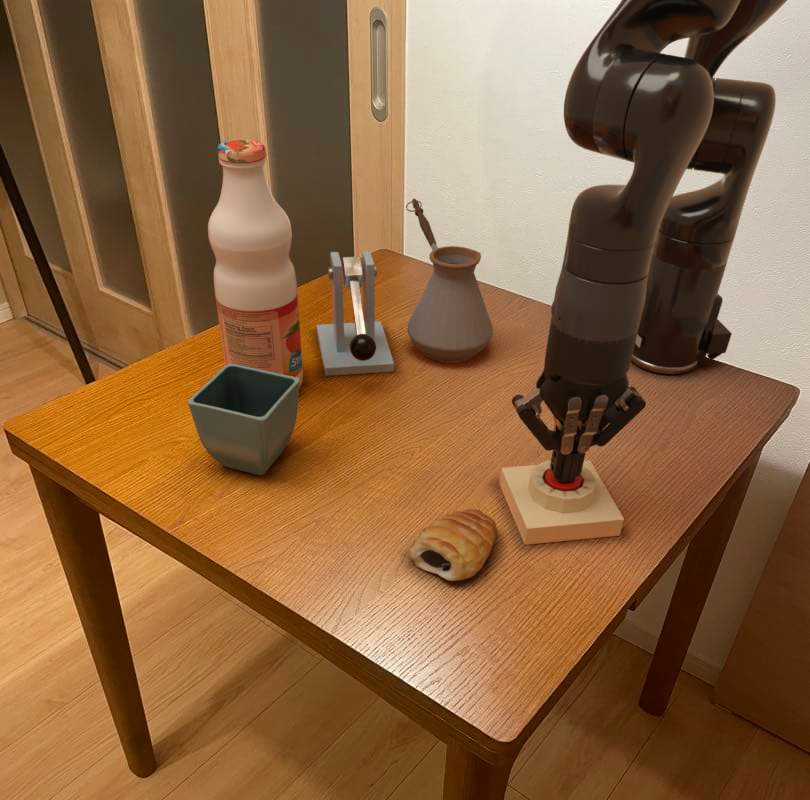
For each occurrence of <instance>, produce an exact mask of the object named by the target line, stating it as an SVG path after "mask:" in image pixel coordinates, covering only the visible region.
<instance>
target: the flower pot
mask: <svg viewBox="0 0 810 800" xmlns="http://www.w3.org/2000/svg"><path fill="white" fill-rule="evenodd" d="M299 383H300V379H299V378H296V377H293V376H288V375H283V374H278V373H274V372H269V371H264V370H260V369H255V368H251V367H245V366H242V365H237V364H227V365H225V364H224V366H222V368H221V369H219V371H217V373H215V374H214V375H213V377H212V378H210V379H209V380H208V381H207V382H206V383H205V384H204V385H203V386H202V387H201V388H199V390H197V392H196V393H194V394H193V395H192V396H191V397H190V398H189V399H188V401H187V404H188V407H189V411H190V414H191V417H192V420H193V424H194V427H195V430H196V432H197V435H198V437H199V440H200V442H201V444H202V446H203V447H204V449H205V450H206V451H207V452H208V454H209V455H210V456H211V457H212V458H213V459H214V460H215V461H216V462H217V463H219V464H220V465H221V466H222V467H225V468H229V469H233V470H237V471H241V472H245V473H249V474H253V475H256V476H263V475H265V474H266V473H267V472H268V471H269V469H270V468H271V466H272V465H273V464H274V463H275V461H277V459H278V458H279V457H280V456H281V454H282V453H283V451H284V450H285V448H286V446H287V445H288V443H289V442H290V439H291V438H292V435H293V433H294V429H295V427H296V424H297V423H296V422H297V418H298V411H299V410H298V409H299V397H300V396H299V395H300V388H299Z"/></svg>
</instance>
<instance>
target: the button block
mask: <svg viewBox="0 0 810 800" xmlns="http://www.w3.org/2000/svg"><path fill="white" fill-rule="evenodd" d="M550 463H551V459H549V460H544V461H542V462H540V463H538V464H531V465H518V466H506V467H501V468H500V475H499V483H498V485H499V487H500V489H501V491H502V492H501V493H502V494H503V497H504V499H505V501H506V503H507V505H508V509H509V511H510V513H511V516H512V518H513V520H514V523H515V525H516V527H517V528H516V529H517V530H518V533H519V535H520V537H521V540H522V543H523V545H524V546H527V545H537V544H538V545H539V544H548V543H558V542H568V541H578V540H589V539H598V538H599V539H600V538H608V537H618V536H619V537H620V536H621V533H622V530H623V525H624V522H625V518H624V516H623V515H622V512H621V511H620V509H619V508H618V505H617V504H616V502H615V500H614V499H613V497H612V495H611V494H610V492H609V489H608V488H607V487H606V485H605V483H604V481H603V480H602V478H601V476H600V474H599V473H598V471H597V469H596V468H595V466H594V464H593V463H592V460H584V463H583V467H582V472H581V474H580V476H581V485H580V488H579V489H577V490H575V491H567V492H564V491H559V490H555V489H553V488H551V487H550V486H548V485H547V484H545V476H546V473H547V471H548V470H549V469H551V468H550Z"/></svg>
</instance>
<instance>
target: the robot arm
mask: <svg viewBox="0 0 810 800" xmlns="http://www.w3.org/2000/svg"><path fill="white" fill-rule="evenodd" d="M786 2H788V0H621V1H620V2H619V4H618V5H617V7H616V8H615V9H614V10H613V12H612V13H611V14H610V16H609V17H608V18H607V20H606V21H605V22H604V24H603V25H602V27H601V28H600V30H599V31H598V32H597V33H596V35H595V36H594V37H593V39H592V40H591V41H590V43H589V44H588V46H587V47H586V49H585V50H584V52H583V53H582V54H581V56H580V58H579V60H578V61H577V64H576V65H575V68H573V71H572V73H571V75H570V77H569V81H568V84H567V87H566V91H565V96H564V101H563V122H564V128H565V131H566V133H567V135H568V138H569V139H570V140H571V141H572V143H574V144H575V145H576V146H577V147H580V148H582V149H584V150H586V151H590V152H593V153H597V154H601V155H605V156H609V157H611V158H615V159H620V160H623V161H626V162H630V163H633V169H632V173H631V175H630V178H629V180H628V181H627V183H626V184H615V183H613V184H611V183H610V184H597V185H593V186H590V187H587V188H586V189H583V190H582V191H581V192H579V194H578V195H577V196H576V198H575V199H574V201H573V205H572V208H571V211H570V217H569V223H568V227H567V235H566V243H565V248H564V253H563V254H564V255H563V261H562V266H561V268H560V269H561V270H560V272H559V276H558V280H557V283H556V286H555V292H554V297H553V301H552V304H551V310H550V311H551V312H550V313H551V317H550V324H549V329H548V330H549V331H548V337H547V343H546V349H545V355H544V364H543V365H544V367H543V371H542V373H541V374H540V376H539V377H538V378H537V380H536V384H535V388H534V389H533V390H532V391H530V392H529V393H528V394H526V395H522V394H515V395H514V396H513V397H512V399H511V403H512V406H513V407H514V409H515V411H516V413H517V416H518V417H519V419H520V420H521V422H522V423H523V424H524V426H525V427H527V429H528V430H529V431H530V433H531V434H532V435H533V436H534V438H535V439H536V440H537V442H538V443H539V444H540V445H541V446H542V447H543V449H544V450H545V451H552V453H551V459H550V460H551V463H550V468H551V471H552V473H553V475H554V477H555V478H557V479H558V481H559V483H568V482H574V481H575V478H576V477H577V476H579V475H580V474H581V472H582V467H583V463H584V461H585V458H586V453H587V452H588V451H589V450H590V448H592V447H594V446H597V447H599V448H600V447H604V446H606V445H607V444H608V443H609V442H610V441H611V440H613V438H614V437H616V435H618V434H619V433H620V432H621V431H622V430H623V429H624V428H625V427H626V426H628V424H629V423H630V422H632V421H633V420H634V418H635V417H637V416H638V415H639V414H640V413H641V412H642V411H643V410H644V409H645V408H646V406H647V402H646V401H645V399H644V398H643V396H642V395H641V393H640V392H639V391H638V390H637V388H635V387H634V386H629V385H630V384H629V381H630V380H629V378H628V375H627V373H628V372H629V370H630V367H631V362H632V363H633V364H634V365H635V366H637V367H639V368H641V369H643V370H646V371H648V372H653V373H657V374H663V375H681V374H686V373H689V372H691V371H693V370H695V368H698V367H703V366H704V363H705V361H706V357H707V358H708V359H710V361H713V360H714V359H716V358H718V357H719V356H721V355H722V354H726V353H727V350H728V347H729V343H730V341H731V337H732V335H733V332H731V331H730V330H729V329H728V327H726V326H725V325H724V324H723V323H722V322H721V321H720V320H719V319H718V318H719V314H720V311H721V308H722V305H723V300H724V299H723V297H722V296H721V295H720V294H719V291H720V288H721V284H722V282H723V281H722V280H723V278H724V274H725V271H726V268H727V264H728V261H729V257H730V254H731V252H732V251H731V250H732V248H733V245H734V241H735V237H736V234H737V230H738V228H739V224H740V221H741V220H740V219H741V217H742V216H741V215H742V213H743V209H744V206H745V203H746V200H747V196H748V193H749V189H750V186H751V183H752V181H753V179H754V175H755V172H756V170H757V166H758V165H759V161H760V158H761V156H762V153H763V150H764V148H765V144H766V142H767V139H768V137H769V136H768V135H769V133H770V129H771V128H772V127H771V126H772V122H773V118H774V115H775V110H776V103H777V102H776V97H777V96H776V92H775V89H774V87H773V86H772V85H771V84H769V83H765V82H760V81H751V80H740V79H732V78H721V77H715V75H716V74H717V72H718V71H719V69H720V67H722V65H723V63H724V62H725V61H726V60H727V59H728V57H729V56H730V55H731V54H732V53H733V52H734V51H735V50H736V49H737V48H738V47H739V46H740V45H741V44H742V43H743V42H744V41H746V40H747V39H748V38H749V37H750V36H751V35H753V33H755V32H756V31H757V30H758V29H760V28H761V27H762V26H763V25H764V24H765V23H766V22H767V21H768V20H769V19H770V18H771V17H772V16H774V14H776V13H777V12H778V11H779V10H780V8H782V7H783V6H784V5H785V4H786ZM685 39H688V40H687V44H686V47H685V51H684V55H683V56H678V55H673V54H666V53H662V51H663V50H664V49H665V48H667V46H668V45H670V44H672V43H675V42H677V41H680V40H685ZM686 170H688V171H692V170H693V171H696V172H697V171H699V172H704V173H714V174H722V177H721V178H719V180H717V181H715V182H713V183H711V184H709V185H707V186H705V187H703V188H699V189H696V190H692V191H687V192H683V193H679V194H675V192H676V190H677V188H678V186H679V183H680V182H681V179H682V178H683V176H684V174H685V172H686ZM674 194H675V195H674ZM542 402H544V404H545V405H546V407H547V408H548V409H549V411H550V413H551V414H552V415H553V416H552V417H553V422H554V423H553V430H551V429H549V427H548V426H547V425H546V423H545V422H544V421H543V419H542V418H541V414H542V411H543V409H542V407H541V404H542Z"/></svg>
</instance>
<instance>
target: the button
mask: <svg viewBox="0 0 810 800" xmlns="http://www.w3.org/2000/svg"><path fill="white" fill-rule="evenodd" d="M545 484H547V485H548V486H550V487H551V488H553V489H555V490H559V491H564V492H567V491H575V490H577V489H579V488H580V485H581V476H580V475H579V476H577V477H576V478H575V481H574V482H568V483H559V481H558V479H557V478H555V477H554V475H553V473H552V471H551V469H549V470H548V471H547V473H546V476H545Z"/></svg>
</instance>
